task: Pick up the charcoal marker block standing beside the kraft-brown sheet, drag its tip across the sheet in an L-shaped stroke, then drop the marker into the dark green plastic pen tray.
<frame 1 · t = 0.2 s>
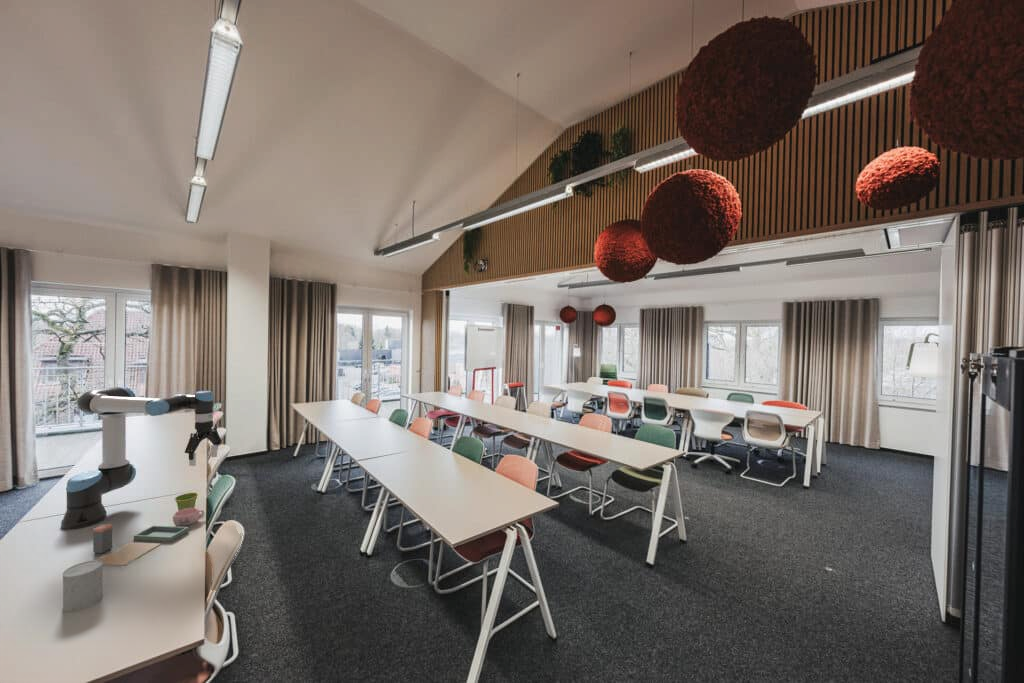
hand: (203, 461, 201), 28 cm above the table, fingers open, 13 cm apart
mug: (188, 523, 192), on the table
paper: (127, 553, 165), on the table
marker: (102, 552, 166), on the table
grey stone cylinder: (83, 602, 136), on the table
tray: (161, 536, 179), on the table
plant pot: (186, 513, 202), on the table
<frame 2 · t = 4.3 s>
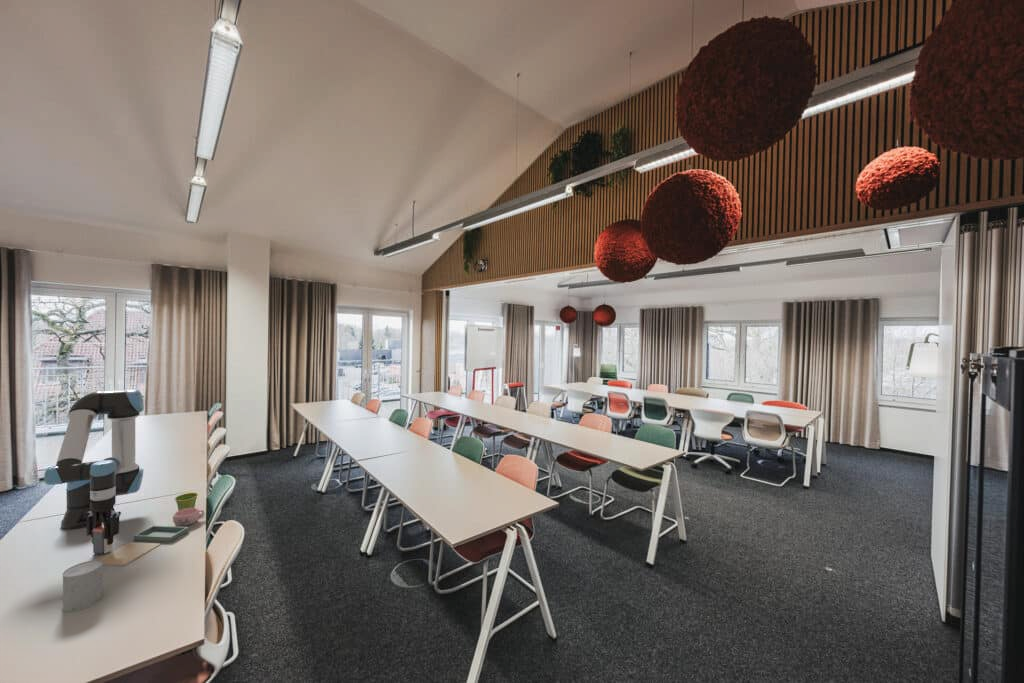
hand: (102, 551, 166), 1 cm above the table, fingers closed on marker, 4 cm apart
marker: (102, 552, 166), on the table, touching gripper
everything else where it was.
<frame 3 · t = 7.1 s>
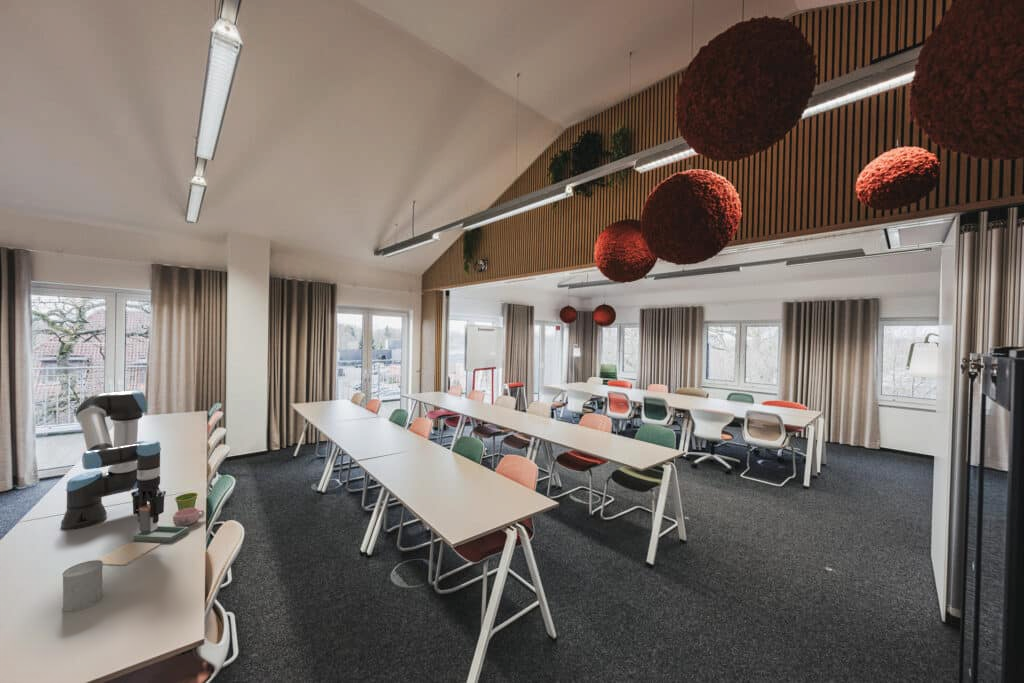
hand: (148, 529, 170), 8 cm above the table, fingers closed on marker, 4 cm apart
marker: (148, 531, 170), point 8 cm above the table, touching gripper
everything else where it was.
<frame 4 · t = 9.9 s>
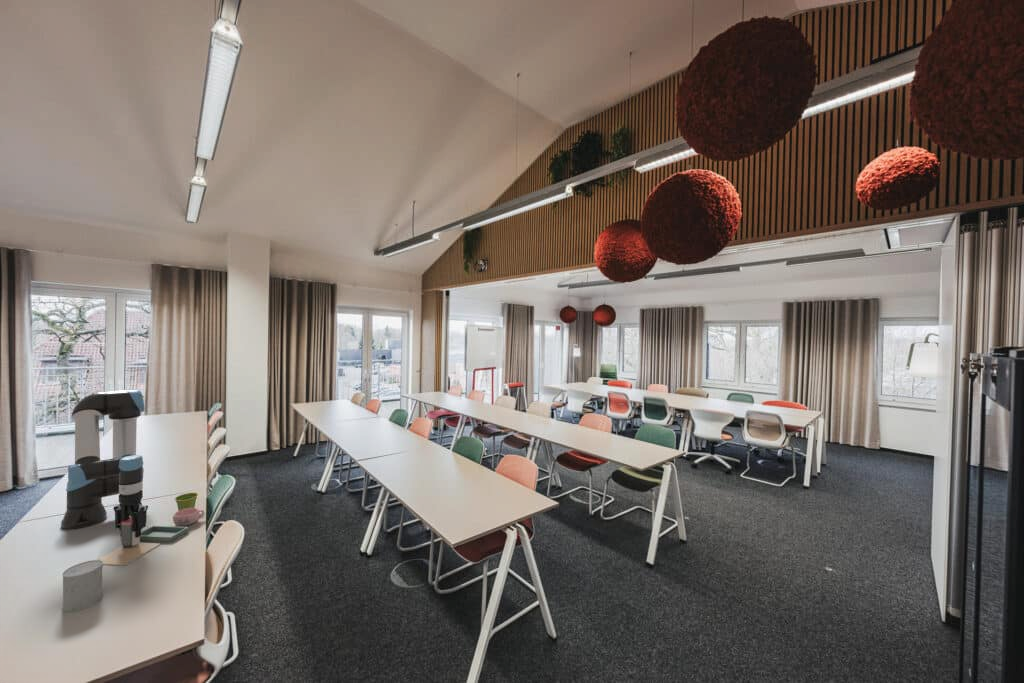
hand: (130, 543, 170), 1 cm above the table, fingers closed on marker, 4 cm apart
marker: (130, 545, 170), point 1 cm above the table, touching gripper
everything else where it was.
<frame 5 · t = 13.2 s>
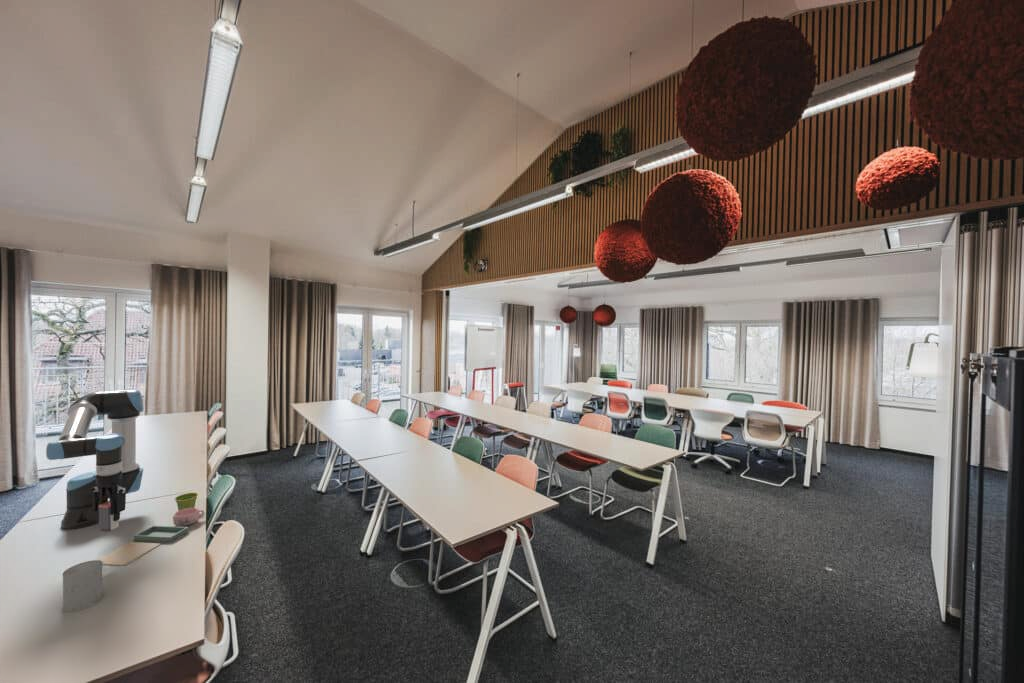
hand: (109, 527, 161), 13 cm above the table, fingers closed on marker, 4 cm apart
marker: (108, 529, 161), point 12 cm above the table, touching gripper
everything else where it was.
when the fingers open (3 cm above the table, at t = 15.8 s): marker drops 2 cm, resting on tray.
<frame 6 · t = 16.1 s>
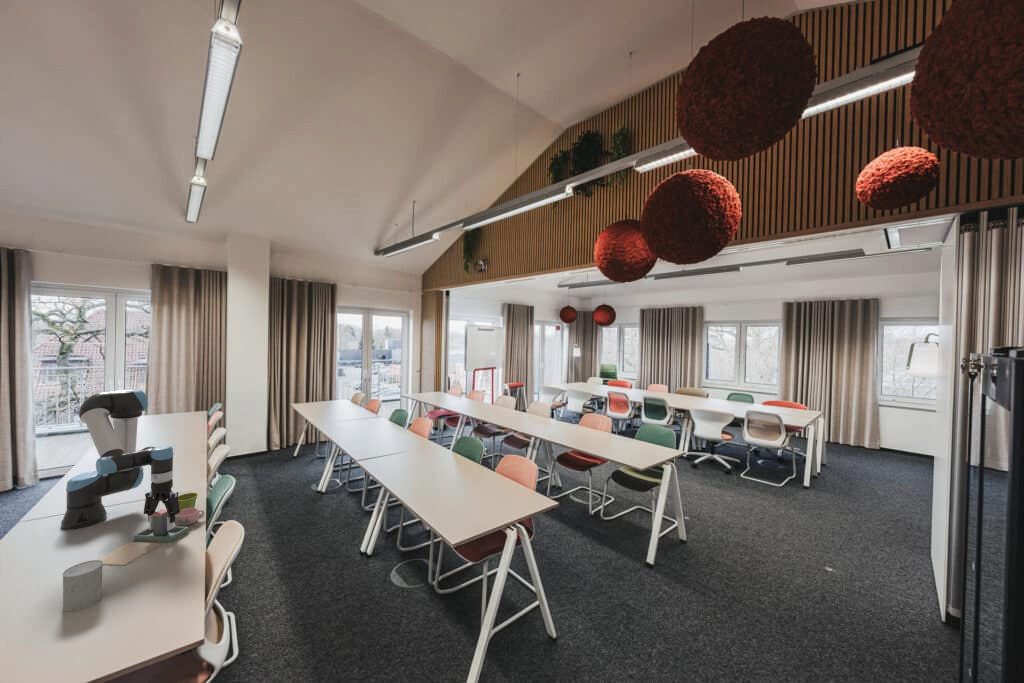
hand: (161, 528, 179), 4 cm above the table, fingers open, 8 cm apart
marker: (161, 535, 179), resting on tray
everything else where it was.
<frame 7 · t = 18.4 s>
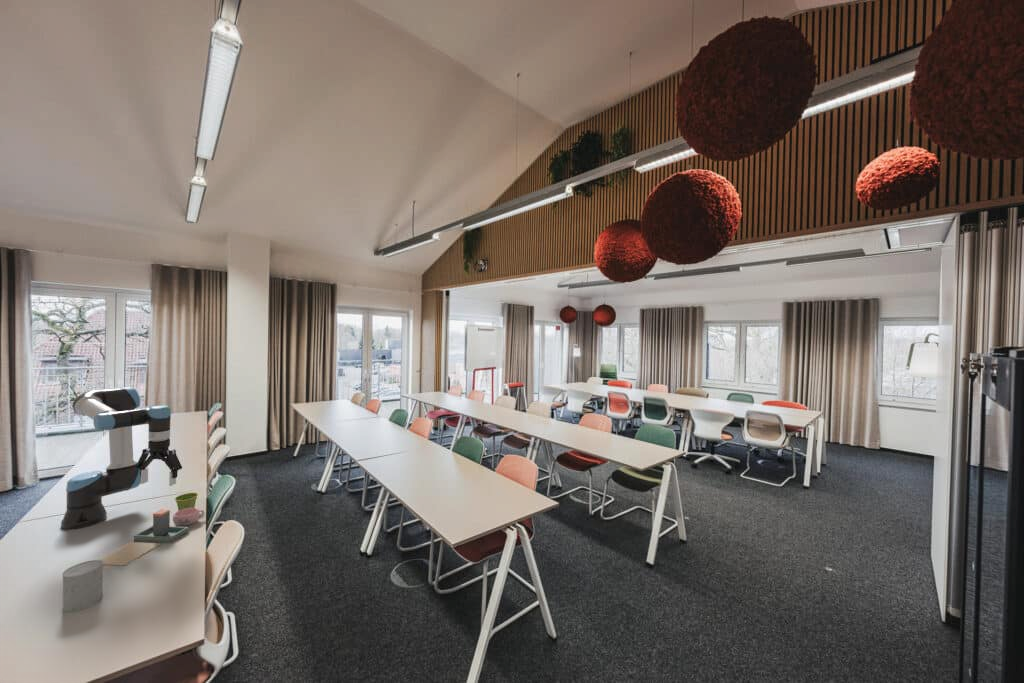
hand: (158, 483, 181), 24 cm above the table, fingers open, 13 cm apart
nothing on the table moved.
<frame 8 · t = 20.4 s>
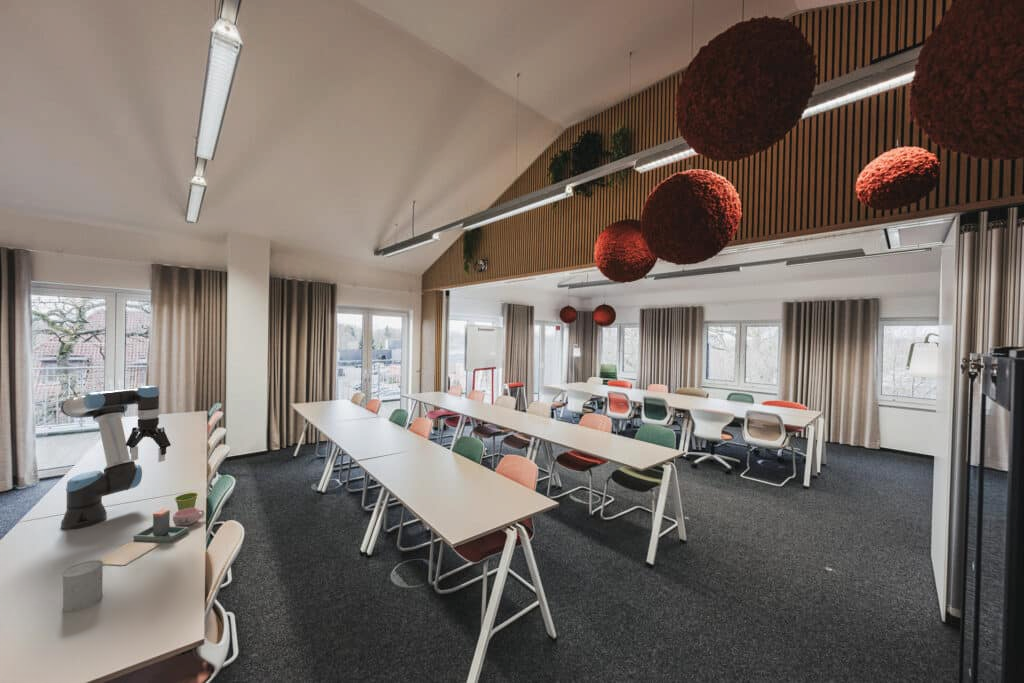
hand: (148, 460, 189), 32 cm above the table, fingers open, 13 cm apart
nothing on the table moved.
at the end: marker inside the target area on the tray (0.1 cm from its centre), point 0.5 cm above the tray's base; the gripper is holding nothing; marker moved 18.7 cm from its start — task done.
